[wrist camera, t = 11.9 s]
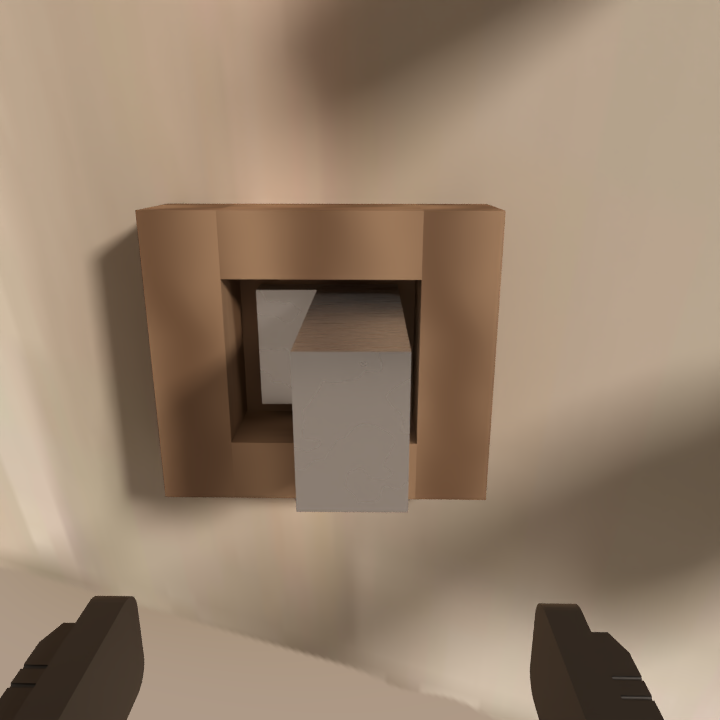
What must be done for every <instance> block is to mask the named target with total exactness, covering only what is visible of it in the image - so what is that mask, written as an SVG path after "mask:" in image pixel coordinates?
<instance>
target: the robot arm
mask: <svg viewBox="0 0 720 720" xmlns="http://www.w3.org/2000/svg"><path fill="white" fill-rule="evenodd" d="M143 672H144V654H143V647H142V638H141V630H140V623H139V615H138V607H137V602H136V600H135V598H134V597H132V596H95V597H93V598H92V599H91V600H90V602H89V603H88V605H87V606H86V608H85V609H84V611H83V612H82V614H81V615H80V617H79V618H78V620H77V622H76V623H63V624H61V625H60V626H59V627H58V628H56V629H55V630H54V631H53V632H51V633H50V634H49V635H48V636H46V637H45V638H44V639H43V640H41V641H40V642H39V644H38V645H37V646H36V648H35V649H34V651H33V652H32V654H31V655H30V656H29V658H28V659H27V661H26V662H25V664H24V668H23V669H20V671H19V672H18V674H17V675H16V676H15V678H14V679H13V681H12V682H11V687H10V688H7V689H6V691H5V692H4V694H3V695H2V696H1V698H0V720H127V717H128V715H129V713H130V711H131V708H132V706H133V704H134V702H135V699H136V697H137V695H138V693H139V690H140V686H141V683H142V678H143ZM530 681H531V690H532V696H533V700H534V704H535V707H536V711H537V714H538V717H539V720H664V719H663V717H662V715H661V713H660V711H659V709H658V707H657V705H656V703H655V701H652V696H651V694H650V692H649V690H648V688H647V686H646V684H645V682H644V681H642V679H641V675H640V673H639V671H638V669H637V667H636V665H635V663H634V661H633V659H632V657H631V655H630V653H629V652H628V651H627V650H626V649H625V648H624V647H623V646H622V645H620V644H619V643H618V642H617V641H616V640H615V639H614V638H613V637H612V636H611V635H610V634H609V633H608V632H591V630H590V628H589V626H588V624H587V622H586V620H585V617H584V615H583V613H582V611H581V609H580V607H579V606H578V605H577V604H542V603H539V604H538V605H537V607H536V613H535V622H534V632H533V642H532V652H531V662H530Z"/></svg>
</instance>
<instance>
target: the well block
mask: <svg viewBox="0 0 720 720" xmlns="http://www.w3.org/2000/svg"><path fill="white" fill-rule="evenodd" d="M135 211H136V221H137V230H138V240H139V249H140V259H141V268H142V278H143V287H144V297H145V306H146V316H147V325H148V335H149V344H150V354H151V363H152V373H153V382H154V392H155V401H156V411H157V420H158V429H159V439H160V448H161V458H162V467H163V477H164V486H165V496H166V497H254V498H296V486H295V461H294V436H293V411H292V404H262V391H261V372H260V354H259V336H258V318H257V300H256V289H257V288H258V287H259V286H260V285H261V284H397V285H398V290H399V295H400V300H401V305H402V309H403V314H404V319H405V324H406V329H407V333H408V338H409V343H410V348H411V392H410V439H409V486H408V499H462V500H486V487H487V473H488V458H489V444H490V429H491V415H492V400H493V385H494V371H495V356H496V342H497V327H498V313H499V298H500V284H501V269H502V255H503V240H504V226H505V211H504V210H502V209H499V208H496V207H493V206H490V205H488V204H164V205H159V206H154V207H149V208H144V209H140V210H135Z"/></svg>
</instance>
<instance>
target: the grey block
mask: <svg viewBox="0 0 720 720" xmlns="http://www.w3.org/2000/svg"><path fill="white" fill-rule="evenodd" d="M256 300H257V318H258V336H259V354H260V372H261V391H262V404H292V411H293V436H294V461H295V486H296V511H297V512H408V486H409V439H410V392H411V348H410V343H409V338H408V333H407V329H406V324H405V319H404V314H403V309H402V305H401V300H400V295H399V290H398V285H397V284H261V285H260V286H259V287H258V288H257V289H256Z"/></svg>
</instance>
